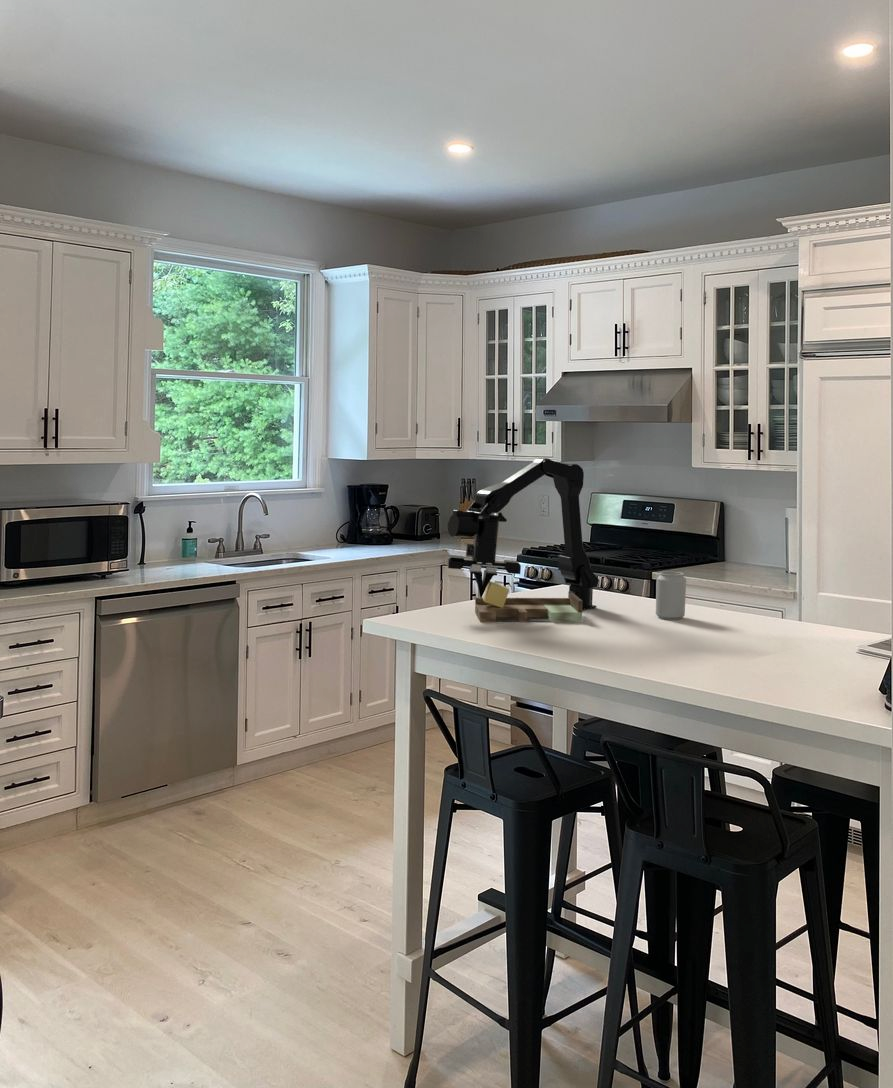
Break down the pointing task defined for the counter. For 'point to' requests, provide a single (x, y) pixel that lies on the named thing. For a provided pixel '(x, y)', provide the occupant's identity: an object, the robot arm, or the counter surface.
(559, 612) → the deck
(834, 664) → the counter surface
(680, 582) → the can
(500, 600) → the block
